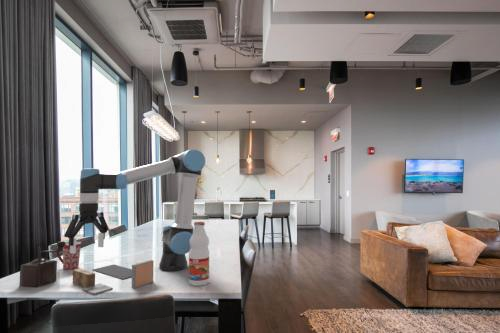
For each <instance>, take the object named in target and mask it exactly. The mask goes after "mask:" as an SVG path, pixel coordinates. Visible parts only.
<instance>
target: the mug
mask: <svg viewBox="0 0 500 333" xmlns="http://www.w3.org/2000/svg"><path fill="white" fill-rule="evenodd" d="M65 243H66V245H65V246H64V247H63V251H62V257H61V255H60V252H55V253H56V256H57V258H58V260H59V261H60V262H61V264H62V269H63V270H64V269H66V270H68V271H69V270H70V269H71V270H75V268H76V269H79V267H80V265H79V264H80V254H81V246H82V242H80V241H76V253H75V254H73V253H70V246H69V241H67V242H65ZM66 270H65V271H66Z"/></svg>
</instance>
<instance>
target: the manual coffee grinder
mask: <svg viewBox="0 0 500 333" xmlns="http://www.w3.org/2000/svg"><path fill="white" fill-rule="evenodd" d="M66 243H67V242H65V241H64V240H63V241H61V240H59V241H58V242H57V243H56V246H57V248H56V250H42V247H40V246H39V247H38V248H37V249H38V250H37V252H38V254H37V255H38V256H37V258H36V259H33V260H32V261H31V262H27V263H24V264H20V266H19V267H20V268H19V283H18V285H19V286H20V285H21V286H20V287H27V286H28V287H29V288H30V287H31V288H39V286H40V287H42V286H45V285H48V284H51V283H53V282H54V281H56V280H57V279H58V278H57V273H58V272H57V270H58V263H57V262H58V261H57V260H55V259H54V260H53V259H52V260H51V259H47V258H44V257H42V255H41V254H43V253H56V252H59V253H60V252H63V247H64V246H65V245H66Z"/></svg>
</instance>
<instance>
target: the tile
mask: <svg viewBox="0 0 500 333" xmlns="http://www.w3.org/2000/svg"><path fill="white" fill-rule="evenodd" d="M131 269H132V277H131V288H132V289H137V288H141V287H143V286H146V285H149V284H151V283H154V260H153V259H149V260H145V261H142V262H139V263H138V262H137V263H134V264H132V265H131Z"/></svg>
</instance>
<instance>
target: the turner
mask: <svg viewBox="0 0 500 333" xmlns="http://www.w3.org/2000/svg"><path fill="white" fill-rule="evenodd" d="M72 284H74V285H77V286H79V287H80V286H81V287H83V288H82V289H81V291H83V292H84V293H88V294H91V295H93V296H96V295H97V296H98V295H99V294H102V293H106V292H108V291H112V290H113V287H112V286H109V285H106V284H103V283H97V284H96V273H95V272H94V271H90V270H86V269H83V268H79V267H78V268H76V269H72Z"/></svg>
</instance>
